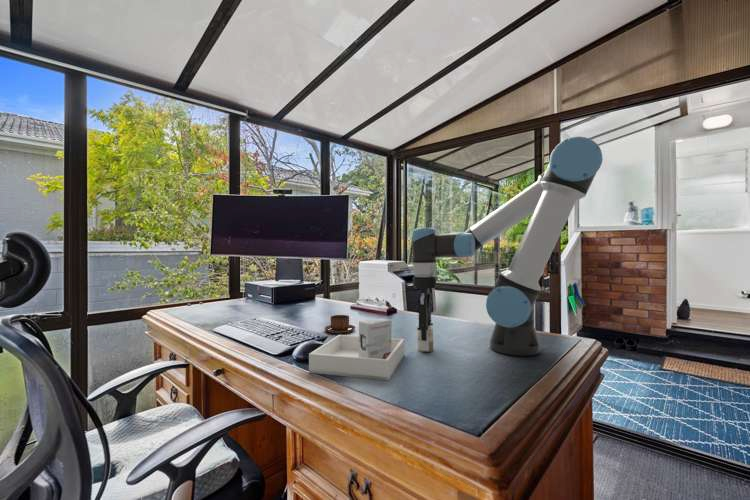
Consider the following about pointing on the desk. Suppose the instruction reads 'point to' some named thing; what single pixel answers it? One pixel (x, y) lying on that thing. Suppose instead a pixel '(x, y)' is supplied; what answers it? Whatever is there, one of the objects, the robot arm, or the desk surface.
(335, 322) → the cup and saucer
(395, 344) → the tray
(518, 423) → the desk surface
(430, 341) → the birch cylinder
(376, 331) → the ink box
